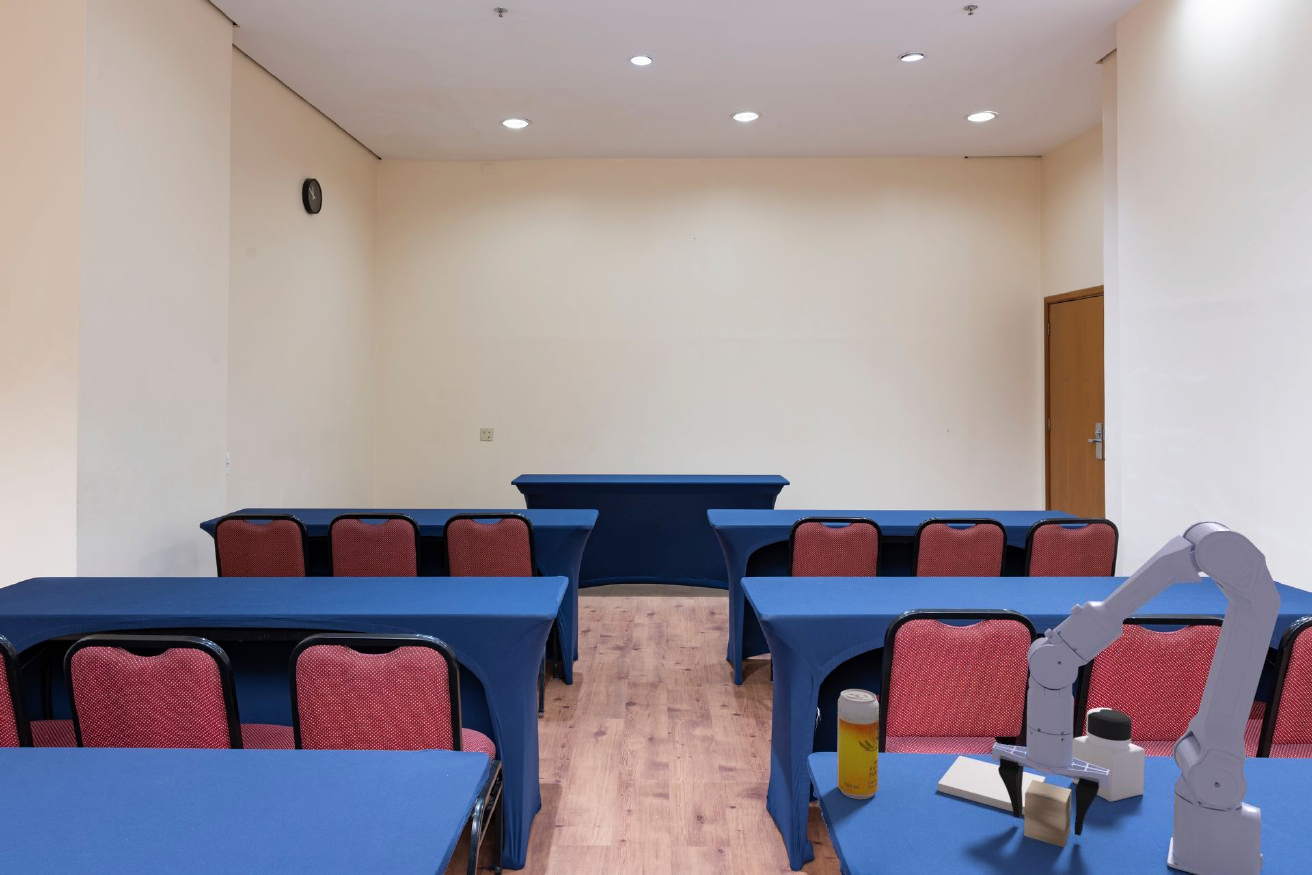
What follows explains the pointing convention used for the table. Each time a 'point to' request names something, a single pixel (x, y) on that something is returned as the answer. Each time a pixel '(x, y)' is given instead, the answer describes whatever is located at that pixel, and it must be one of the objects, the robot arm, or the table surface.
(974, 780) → the white board
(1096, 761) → the medicine bottle
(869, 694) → the beer can
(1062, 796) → the maple block
